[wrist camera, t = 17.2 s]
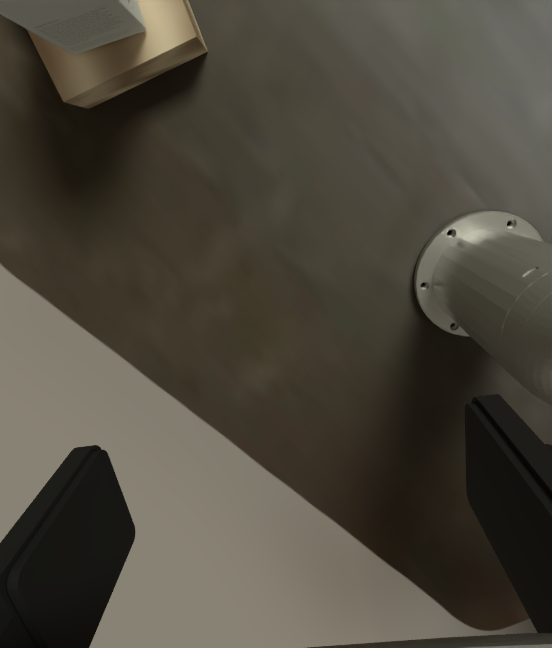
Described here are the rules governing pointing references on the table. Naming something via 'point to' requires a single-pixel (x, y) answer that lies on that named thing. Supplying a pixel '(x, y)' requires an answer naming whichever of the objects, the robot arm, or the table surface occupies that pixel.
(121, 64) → the birch block
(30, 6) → the small box
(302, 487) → the table surface
